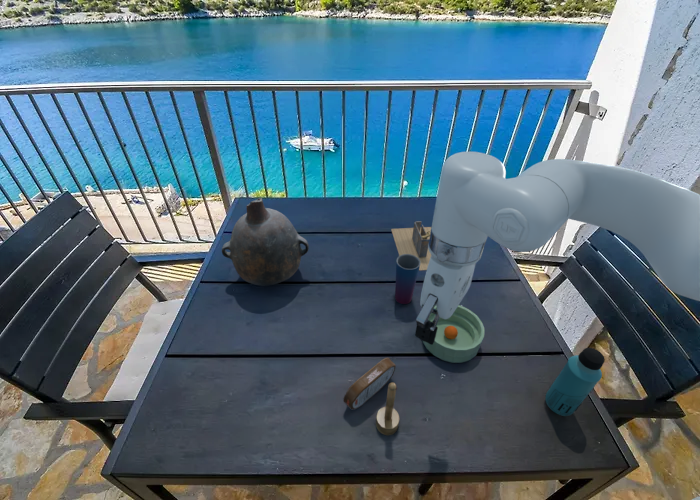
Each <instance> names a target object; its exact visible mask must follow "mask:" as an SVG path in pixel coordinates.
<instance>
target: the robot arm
mask: <svg viewBox="0 0 700 500" xmlns="http://www.w3.org/2000/svg"><path fill="white" fill-rule="evenodd" d="M506 175H507V171H506V167H505V165H504V164H503V162H502V161H501V160H500V159H499V158H497V157H495V156H493V155H490V154H488V153H484V152H478V151H461V152H456V153H453V154H452V155H450V156H449V157H448V158H447V159H445V162H443V164H442V167H441V172H440V177H439V183H438V187H437V195H436V199H435V205H434V210H433V217H432V223H431V226H430V227H431V232H430V238H429V244H428V249H429V252H430V253H431V258H430V261H429V264H428V268H427V270H425V276H424V279H423V284H422V287H421V293H420V297H419V298H420V299H419V305H420V308H421V310H420V312H419V314H417V316H416V319H415V321H416V328H415V333H414V336H415V337H416V338H418V339H419V340H421V341H422V342H423V341H424V342H427V343H429V344H431V345H433V343H434V341H435V337H436V333H437V329H438V327H437V326H436V325H437V323H438V321H439V318H443V319H448V318H450V317H451V316H452V314H453V313H454V311H455V310H456V308H457V307H458V305H460V304H461V303H462V301H463V299H464V298H465V296H466V295H467V293H468V291H469V289H470V287H471V285H472V281H473V278H474V272H475V268H476V265H477V263H478V262H479V261H481V258H482V256H483V252H484V249H485V245H486V243H487V239H488V238H489V239H491V240H492V241H493V242H495V243H497V244H498V245H500V246H501V247H503V248H506V249H508V250H510V251H514V252H519V253H528V252H533V251H536V250H539V249H541V248H542V247H543V246H544V245H546V244H547V243H548V242H549V241H550V240H551V239H552V238H553V236H555V235H556V233H557V232H558V231H559V230H560V229H561V228H562V226H563V225H564V224H565V223H566V222H567V221H568V220H572V221H577V222H580V223H584V224H588V225H592V226H596V227H600V228H601V229H604V230H608V231H610V232H612V233H614V234H616V235H618V236H620V237H622V238H623V239H625V240H627V241H628V242H630V243H631V244H632V245H633V246H634V247H635V248H637V249H638V250H639V251H640V253H641V254H642V255H643V257H645V259H646V260H647V262H648V263H649V265H650V267H651V268H652V269H653V271H654V273H655V274H656V276H658V278H659V279H660V280H661V282H662V283H663V284H664V285H665V286H666V287H667V289H669V290H670V291H671V292H672V293H674V294H676V295H678V296H681V297H685V298H688V299H691V300H694V301H697V302H700V194H699V193H697V192H695V191H693V190H690V189H688V188H686V187H683V186H679V185H677V184H674V183H672V182H668V181H667V180H663V179H662V178H659V177H657V176H654V175H651V174H649V173H645V172H642V171H639V170H635V169H631V168H626V167H623V166H616V165H611V164H605V163H604V164H603V163H599V162H590V161H584V160H577V159H567V158H554V159H547V160H542V161H539V162H537V163H535V164H532V165H531V166H530V167H528V168H527V169H525V170H523V171H522V172H521V173H520V174H518V175H517V176H516V177H510V178H506ZM435 305H437V306H436V307H437V310H436V309H434V307H435ZM431 313H433V314H435V318H434V320H433V322H431V321H429V320H428V318H429V316H430V314H431ZM691 500H700V496H696V497H694V498H692V499H691Z"/></svg>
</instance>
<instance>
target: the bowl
mask: <svg viewBox="0 0 700 500" xmlns="http://www.w3.org/2000/svg"><path fill="white" fill-rule="evenodd" d="M436 306H437V305H435V307H434V309H436V310H437V307H436ZM434 318H435V314H433V313H431V314H430V316H429V318H428V320H429V321H431V322H433V320H434ZM436 326H437V327H438V329H437V333H436V337H435V341H434V343H433V345H431V344H429V343H427V342H424V341H422V343H423V345H424V346H425V348H426V350H428V351H429V353H430V354H431V355H433V356H434V357H436V358H438V359H440V360H442V361H445V362H448V363H453V364H454V363H455V364H457V363H459V364H460V363H465V362H468V361H471V360H472V359H473V358H475V357H476V356H477V354H478V353H479V350H480V349H481V346H482V343H483V341H484V339H485V327H484V324H483V322H482V320H481V319H480V318H479V316H478V315H477V314H476V313H474V311H472V310H470V309H469V308H467V307H465V306H463V305H460V304H459V305H458V307H457V308H456V310H455V311H454V313H453V314H452V316H451V317H450V318H448V319H443V318H439V321H438V323H437V325H436ZM448 326H454V327H455V328H456V329H457V331H458V335H457V337H456V338H455V339H448V338H447V337H446V336H445V334H444V330H445V328H446V327H448Z"/></svg>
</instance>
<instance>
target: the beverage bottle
mask: <svg viewBox="0 0 700 500" xmlns="http://www.w3.org/2000/svg"><path fill="white" fill-rule="evenodd" d="M605 359H606V358H605V357H604V355H603V353H602V352H601V351H599V350H598V349H596V348H592V347H585V348H583V350H582V351H581V352H579V354H578V355H577V354H575V355H572V356H570V357H569V358H568V360H567V362H566V363H565V364H564V366H563V368H562V369H561V370H560V373H559V374H558V375H557V376H556V378H555V379H554V380H553V382H552V383H551V385H550V386H549V387H548V389H547V390H546V392H545V403H546V405H547V407H548V408H549V409H550V410H551V411H552V412H554V413H555V414H557V415H559V416H563V417H568V416H572V415H574V413H575V412H577V410H578V409H579V408H580V406H582V404H583V402H584V401H585V400H586V398H587V397H588V396H589V395H590V394H591V393H592V392H593V390H594V389H595V387H596V386H597V384H598V382H600V381H601V379H602V377H603V371H602V370H601V369H602V367H603V365H604V363H605V361H606V360H605Z"/></svg>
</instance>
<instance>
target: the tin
mask: <svg viewBox="0 0 700 500" xmlns="http://www.w3.org/2000/svg"><path fill="white" fill-rule="evenodd" d="M396 368H397V365H396V363H394V362H393V360H392V359H391V358H390V357H385V358H383V359H381V360H380V361H378V362H377V363H376V364H375V365H373V367H371V368H370V369H369V370H368V371H366V372H365V373H363V375H362V376H360V377H359V378H357V380H355V381H354V382H353V384H352V385H350V387H349V388H348V389H347V391H346V392H345V394H344V396H343V403H344V404H346V405H347V407H348V408H349V409H351V410H352V411H353V410H357V409H359V408H360V407H362V406H363V405H364V404H365V403H367V401H368V400H370V399H371V398H372V397H373V396H375V395H376V394H377V393H378V392H379V391H380V390H381V389H382V388H384V386H386V384H388V382H389V381H390V380H391V378H392V377H393V376H394V374H395V371H396Z"/></svg>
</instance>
